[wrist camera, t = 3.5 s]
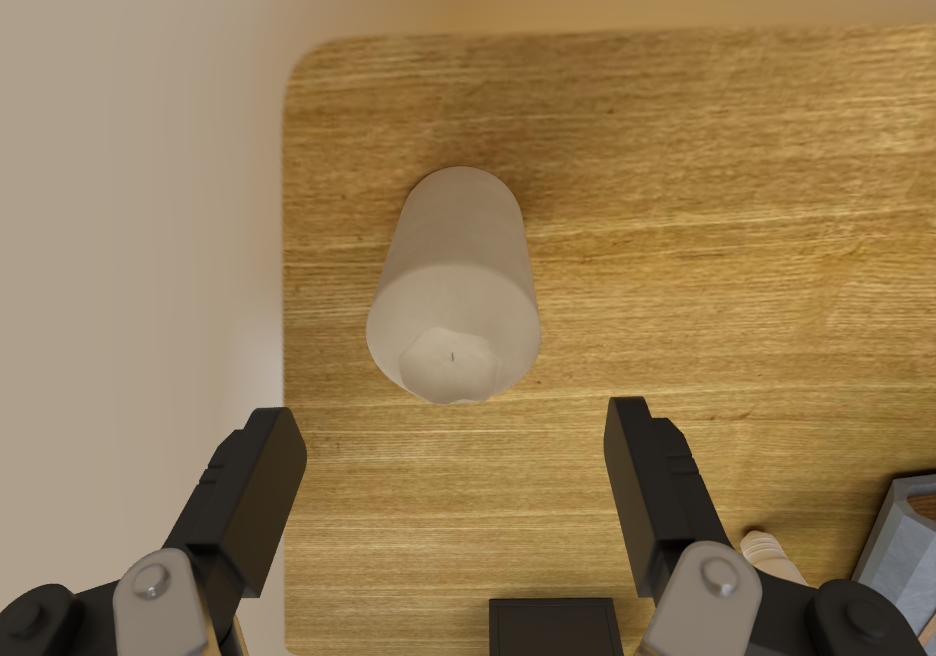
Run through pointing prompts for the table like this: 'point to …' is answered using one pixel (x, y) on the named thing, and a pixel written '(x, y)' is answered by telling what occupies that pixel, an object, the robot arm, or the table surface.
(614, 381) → the table surface
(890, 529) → the book
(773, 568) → the lightbulb
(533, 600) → the bin
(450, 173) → the candle
